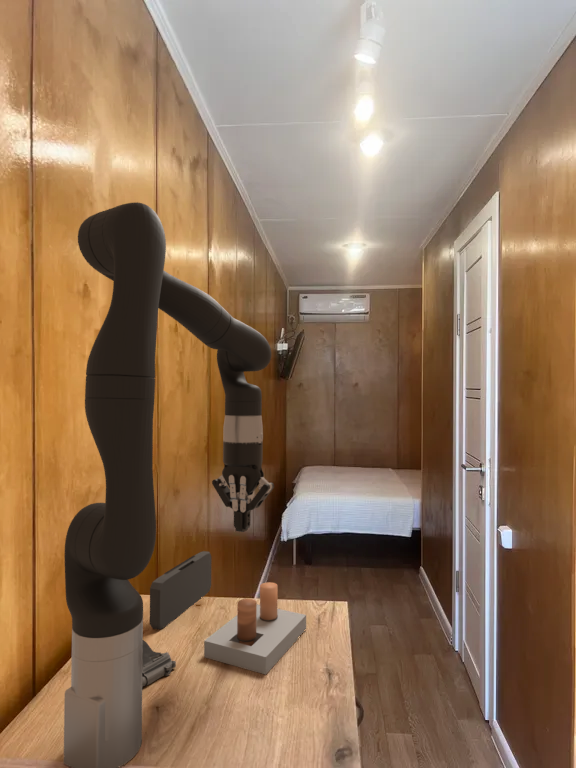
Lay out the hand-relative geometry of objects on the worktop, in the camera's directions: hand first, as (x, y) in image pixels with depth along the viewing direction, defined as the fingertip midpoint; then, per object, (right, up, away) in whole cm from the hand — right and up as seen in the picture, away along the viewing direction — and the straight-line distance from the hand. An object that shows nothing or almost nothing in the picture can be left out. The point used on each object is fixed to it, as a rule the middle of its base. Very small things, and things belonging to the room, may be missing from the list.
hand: (242, 530), depth 91 cm
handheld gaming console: (-15, -24, +19) cm, 34 cm away
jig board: (+3, -23, +4) cm, 24 cm away
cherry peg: (+1, -23, 0) cm, 23 cm away
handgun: (-20, -24, -9) cm, 32 cm away
